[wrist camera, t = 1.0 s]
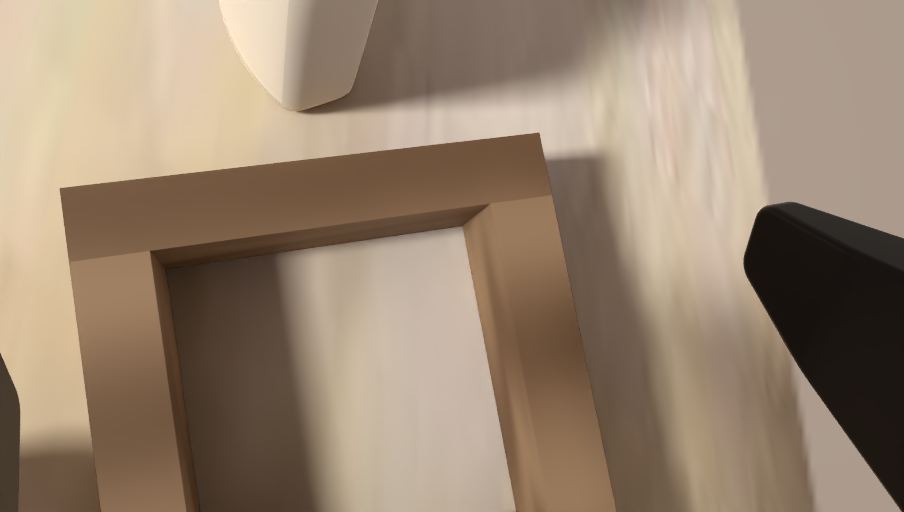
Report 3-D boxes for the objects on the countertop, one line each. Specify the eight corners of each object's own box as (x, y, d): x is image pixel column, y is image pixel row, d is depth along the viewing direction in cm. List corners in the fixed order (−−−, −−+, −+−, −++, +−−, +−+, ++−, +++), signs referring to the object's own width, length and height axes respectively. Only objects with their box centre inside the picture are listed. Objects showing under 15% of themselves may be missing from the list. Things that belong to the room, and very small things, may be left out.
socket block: (584, 559, 22) (631, 586, 20) (149, 678, 19) (129, 730, 17) (506, 162, 24) (539, 132, 21) (87, 215, 21) (59, 188, 18)
